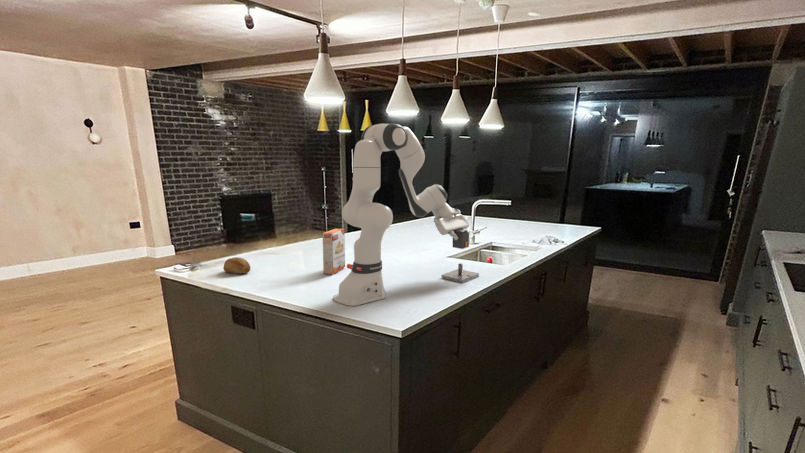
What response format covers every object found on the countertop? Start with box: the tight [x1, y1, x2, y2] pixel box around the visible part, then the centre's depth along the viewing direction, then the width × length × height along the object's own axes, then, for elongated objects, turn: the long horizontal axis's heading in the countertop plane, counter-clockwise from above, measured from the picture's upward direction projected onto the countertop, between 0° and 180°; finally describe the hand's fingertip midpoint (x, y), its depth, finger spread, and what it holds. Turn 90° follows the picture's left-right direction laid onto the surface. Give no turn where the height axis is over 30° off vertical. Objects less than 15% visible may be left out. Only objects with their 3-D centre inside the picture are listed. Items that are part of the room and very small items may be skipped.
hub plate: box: [440, 263, 480, 284], centre depth 189 cm, size 14×12×6 cm
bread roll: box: [222, 256, 251, 274], centre depth 199 cm, size 10×15×8 cm, turn 68°
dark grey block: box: [452, 229, 470, 250], centre depth 186 cm, size 6×6×8 cm
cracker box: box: [322, 228, 346, 275], centre depth 200 cm, size 14×6×21 cm, turn 163°
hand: (462, 238), depth 186 cm, fingers closed on dark grey block, 5 cm apart
